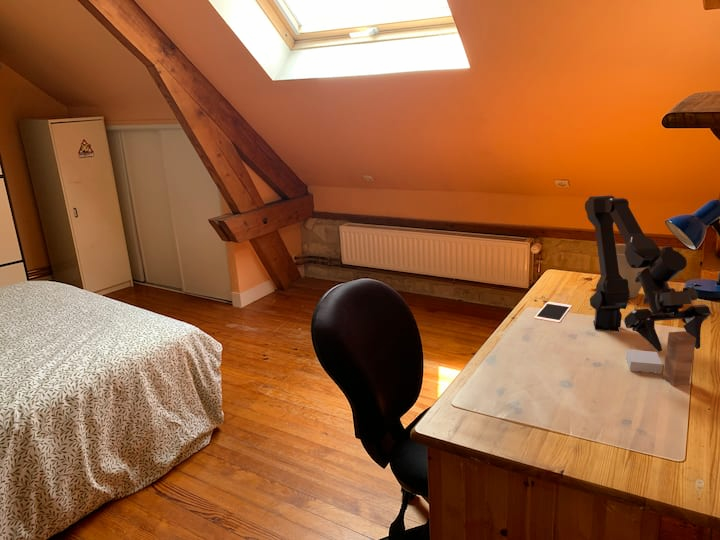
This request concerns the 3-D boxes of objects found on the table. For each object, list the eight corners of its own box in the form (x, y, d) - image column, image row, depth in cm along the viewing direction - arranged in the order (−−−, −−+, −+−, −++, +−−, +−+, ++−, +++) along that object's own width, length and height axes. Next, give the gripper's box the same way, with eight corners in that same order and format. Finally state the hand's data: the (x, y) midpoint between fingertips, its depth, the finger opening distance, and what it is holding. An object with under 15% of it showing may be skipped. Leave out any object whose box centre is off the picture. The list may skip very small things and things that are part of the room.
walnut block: (662, 378, 133) (668, 332, 130) (678, 376, 133) (685, 331, 130) (672, 386, 129) (679, 339, 126) (689, 385, 130) (696, 338, 126)
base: (629, 370, 137) (630, 361, 137) (625, 358, 144) (626, 349, 143) (661, 373, 135) (662, 364, 135) (655, 360, 142) (656, 351, 141)
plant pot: (654, 292, 188) (659, 247, 184) (641, 305, 178) (646, 258, 173) (608, 284, 198) (612, 241, 193) (594, 296, 187) (597, 251, 183)
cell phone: (572, 306, 181) (572, 305, 180) (559, 324, 168) (559, 322, 168) (547, 303, 185) (547, 301, 184) (533, 319, 172) (533, 317, 172)
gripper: (635, 277, 129) (657, 340, 122) (712, 272, 130) (739, 334, 123) (615, 298, 139) (634, 357, 131) (686, 293, 140) (710, 351, 132)
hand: (679, 349), depth 129 cm, fingers open, 9 cm apart
